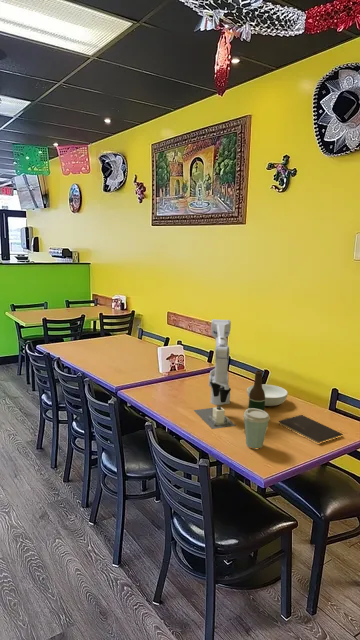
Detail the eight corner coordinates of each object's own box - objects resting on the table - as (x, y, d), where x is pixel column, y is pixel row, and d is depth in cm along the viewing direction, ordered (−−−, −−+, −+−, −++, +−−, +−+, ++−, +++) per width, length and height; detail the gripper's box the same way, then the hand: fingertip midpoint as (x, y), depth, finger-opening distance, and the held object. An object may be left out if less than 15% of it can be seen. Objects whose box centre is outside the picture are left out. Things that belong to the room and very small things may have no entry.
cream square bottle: (220, 419, 194) (220, 404, 193) (224, 422, 190) (224, 408, 189) (212, 420, 193) (213, 405, 192) (216, 423, 189) (216, 408, 188)
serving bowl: (264, 393, 234) (265, 381, 233) (294, 405, 218) (296, 392, 217) (238, 400, 222) (238, 388, 221) (267, 413, 206) (268, 400, 204)
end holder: (222, 417, 196) (222, 413, 196) (229, 424, 190) (229, 419, 189) (207, 419, 194) (208, 415, 193) (214, 425, 187) (214, 421, 187)
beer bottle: (251, 424, 193) (254, 374, 189) (244, 417, 200) (247, 369, 196) (266, 422, 195) (270, 373, 191) (259, 416, 202) (262, 368, 198)
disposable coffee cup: (264, 440, 177) (266, 406, 174) (270, 452, 166) (273, 417, 164) (239, 440, 177) (241, 406, 174) (244, 452, 166) (246, 417, 163)
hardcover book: (317, 446, 174) (318, 441, 174) (278, 425, 194) (278, 420, 193) (342, 438, 183) (343, 433, 182) (302, 418, 202) (302, 414, 202)
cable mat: (215, 409, 209) (215, 407, 209) (236, 427, 188) (236, 425, 188) (193, 412, 205) (193, 410, 204) (211, 431, 184) (212, 428, 184)
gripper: (206, 367, 200) (205, 394, 203) (219, 377, 187) (218, 405, 189) (220, 366, 203) (218, 393, 205) (234, 375, 189) (232, 404, 192)
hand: (219, 399), depth 197 cm, fingers open, 7 cm apart
